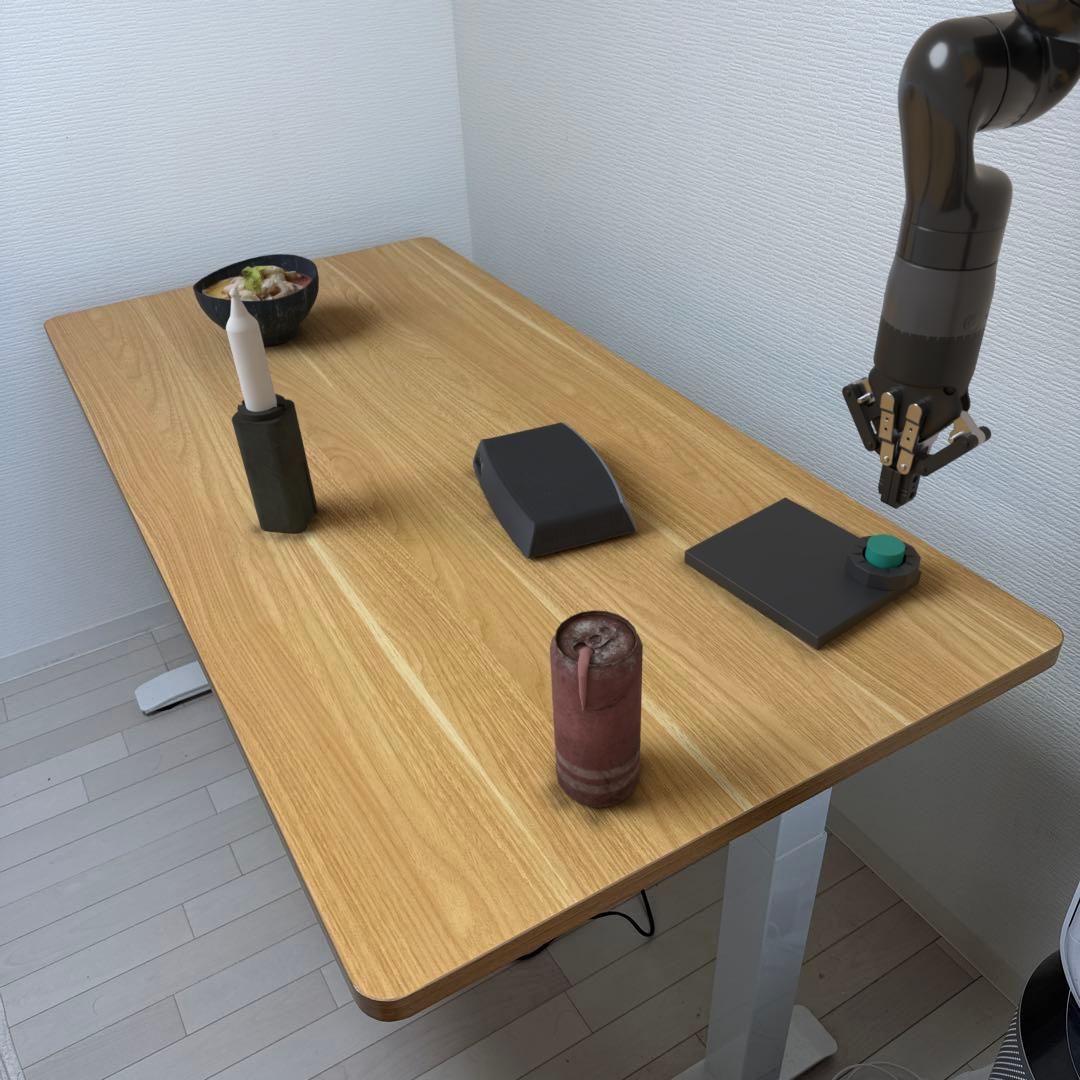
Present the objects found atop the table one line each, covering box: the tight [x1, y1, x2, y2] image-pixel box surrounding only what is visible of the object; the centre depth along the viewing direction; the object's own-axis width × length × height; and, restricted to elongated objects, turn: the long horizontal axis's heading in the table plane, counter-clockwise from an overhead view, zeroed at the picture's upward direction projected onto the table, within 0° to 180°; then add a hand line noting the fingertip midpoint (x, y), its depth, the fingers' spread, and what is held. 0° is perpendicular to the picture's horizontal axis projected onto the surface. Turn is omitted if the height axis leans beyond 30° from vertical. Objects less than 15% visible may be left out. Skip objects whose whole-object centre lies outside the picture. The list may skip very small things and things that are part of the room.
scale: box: [683, 497, 923, 651], centre depth 88 cm, size 16×14×3 cm
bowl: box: [192, 253, 320, 348], centre depth 137 cm, size 17×17×10 cm
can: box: [549, 609, 644, 809], centre depth 67 cm, size 6×6×14 cm
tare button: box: [865, 533, 905, 569], centre depth 86 cm, size 3×3×2 cm
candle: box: [225, 289, 319, 534], centre depth 93 cm, size 5×5×25 cm
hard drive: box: [472, 421, 639, 559], centre depth 100 cm, size 13×19×4 cm
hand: (894, 501), depth 83 cm, fingers closed
